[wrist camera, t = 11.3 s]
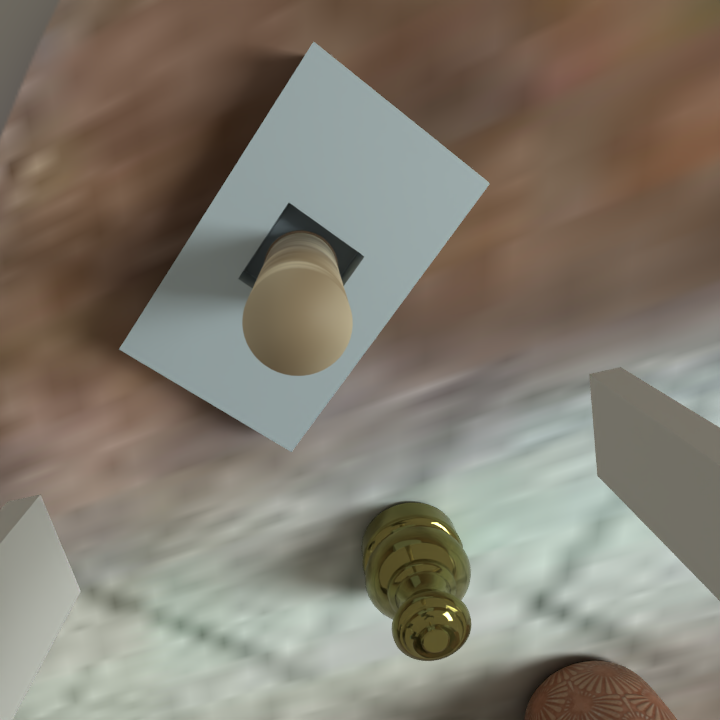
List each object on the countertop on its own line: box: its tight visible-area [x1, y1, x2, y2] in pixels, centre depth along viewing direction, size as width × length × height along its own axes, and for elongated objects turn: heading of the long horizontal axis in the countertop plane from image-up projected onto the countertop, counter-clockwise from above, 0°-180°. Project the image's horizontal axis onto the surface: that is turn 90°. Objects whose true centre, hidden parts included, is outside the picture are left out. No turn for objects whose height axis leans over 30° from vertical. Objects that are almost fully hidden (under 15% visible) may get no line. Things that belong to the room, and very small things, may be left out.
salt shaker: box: [362, 502, 471, 661], centre depth 40 cm, size 7×7×10 cm
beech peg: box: [242, 230, 353, 376], centre depth 29 cm, size 4×4×16 cm
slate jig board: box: [119, 42, 490, 452], centre depth 36 cm, size 20×12×4 cm, turn 144°
